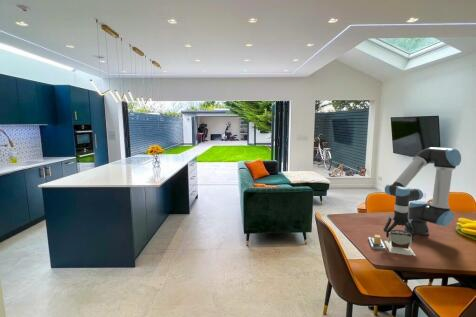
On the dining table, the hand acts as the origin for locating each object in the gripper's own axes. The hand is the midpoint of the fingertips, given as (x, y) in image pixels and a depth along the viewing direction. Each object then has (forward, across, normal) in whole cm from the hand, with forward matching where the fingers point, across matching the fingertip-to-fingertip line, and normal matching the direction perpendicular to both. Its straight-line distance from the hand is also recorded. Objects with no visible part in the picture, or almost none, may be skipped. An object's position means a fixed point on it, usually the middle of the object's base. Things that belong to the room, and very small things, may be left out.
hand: (399, 243), depth 166 cm
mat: (+3, 0, 0) cm, 3 cm away
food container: (+2, 0, 0) cm, 2 cm away
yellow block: (+1, +13, +1) cm, 13 cm away
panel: (+3, +13, -1) cm, 13 cm away
